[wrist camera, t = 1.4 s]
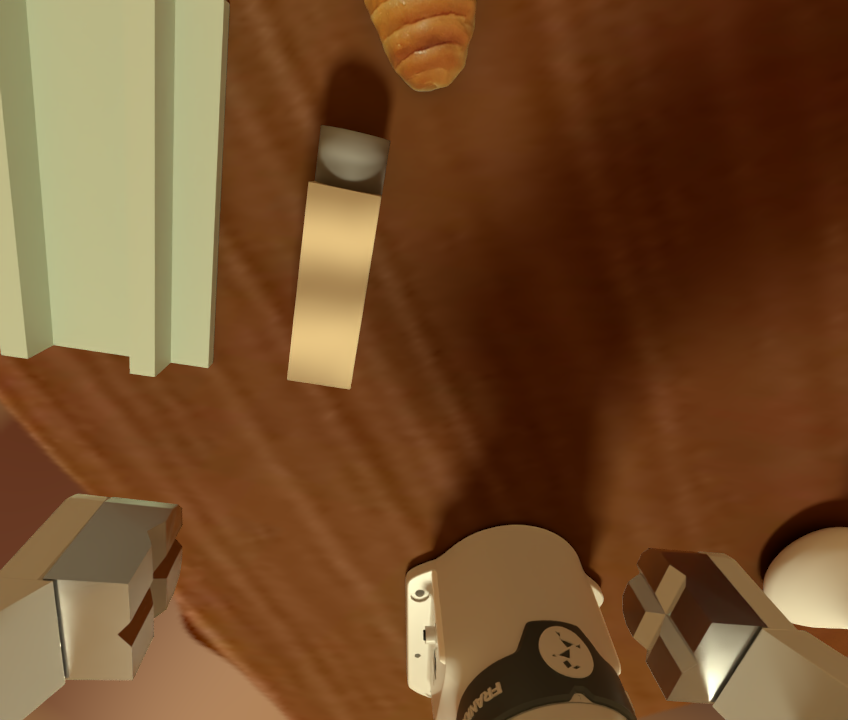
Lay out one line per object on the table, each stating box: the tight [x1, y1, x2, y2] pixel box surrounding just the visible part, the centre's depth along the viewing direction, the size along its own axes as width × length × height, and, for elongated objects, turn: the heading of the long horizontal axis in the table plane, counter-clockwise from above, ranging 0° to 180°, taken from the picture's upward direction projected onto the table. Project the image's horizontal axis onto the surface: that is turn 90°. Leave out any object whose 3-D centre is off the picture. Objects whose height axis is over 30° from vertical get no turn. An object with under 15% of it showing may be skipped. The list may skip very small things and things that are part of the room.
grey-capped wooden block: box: [287, 125, 390, 389], centre depth 30 cm, size 15×4×5 cm, turn 169°
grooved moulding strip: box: [0, 0, 230, 377], centre depth 28 cm, size 22×14×4 cm, turn 169°
